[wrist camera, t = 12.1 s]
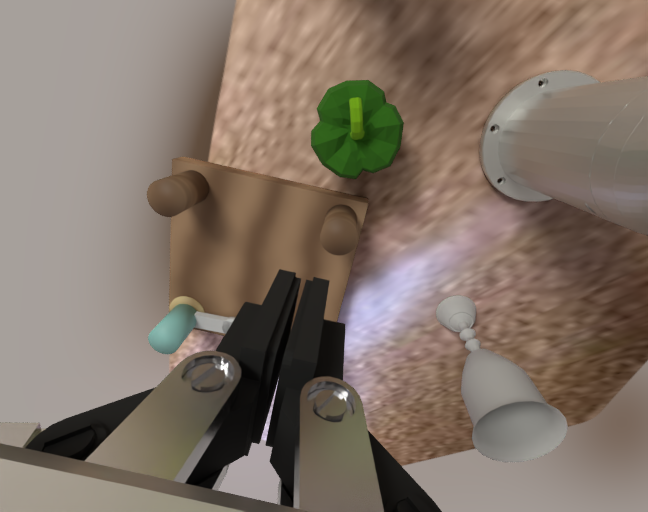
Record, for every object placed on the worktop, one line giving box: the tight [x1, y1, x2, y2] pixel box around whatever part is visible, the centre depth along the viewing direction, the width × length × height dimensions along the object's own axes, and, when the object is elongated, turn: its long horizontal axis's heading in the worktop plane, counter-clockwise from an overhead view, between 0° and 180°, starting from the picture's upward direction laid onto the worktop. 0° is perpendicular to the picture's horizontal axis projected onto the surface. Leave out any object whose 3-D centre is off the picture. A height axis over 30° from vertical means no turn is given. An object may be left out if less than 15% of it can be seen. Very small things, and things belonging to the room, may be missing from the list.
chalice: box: [436, 295, 568, 462], centre depth 35 cm, size 7×7×18 cm
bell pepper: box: [311, 80, 404, 179], centre depth 31 cm, size 8×8×10 cm
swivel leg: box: [148, 304, 235, 354], centre depth 41 cm, size 4×10×6 cm, turn 80°
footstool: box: [147, 157, 369, 336], centre depth 39 cm, size 22×22×8 cm
